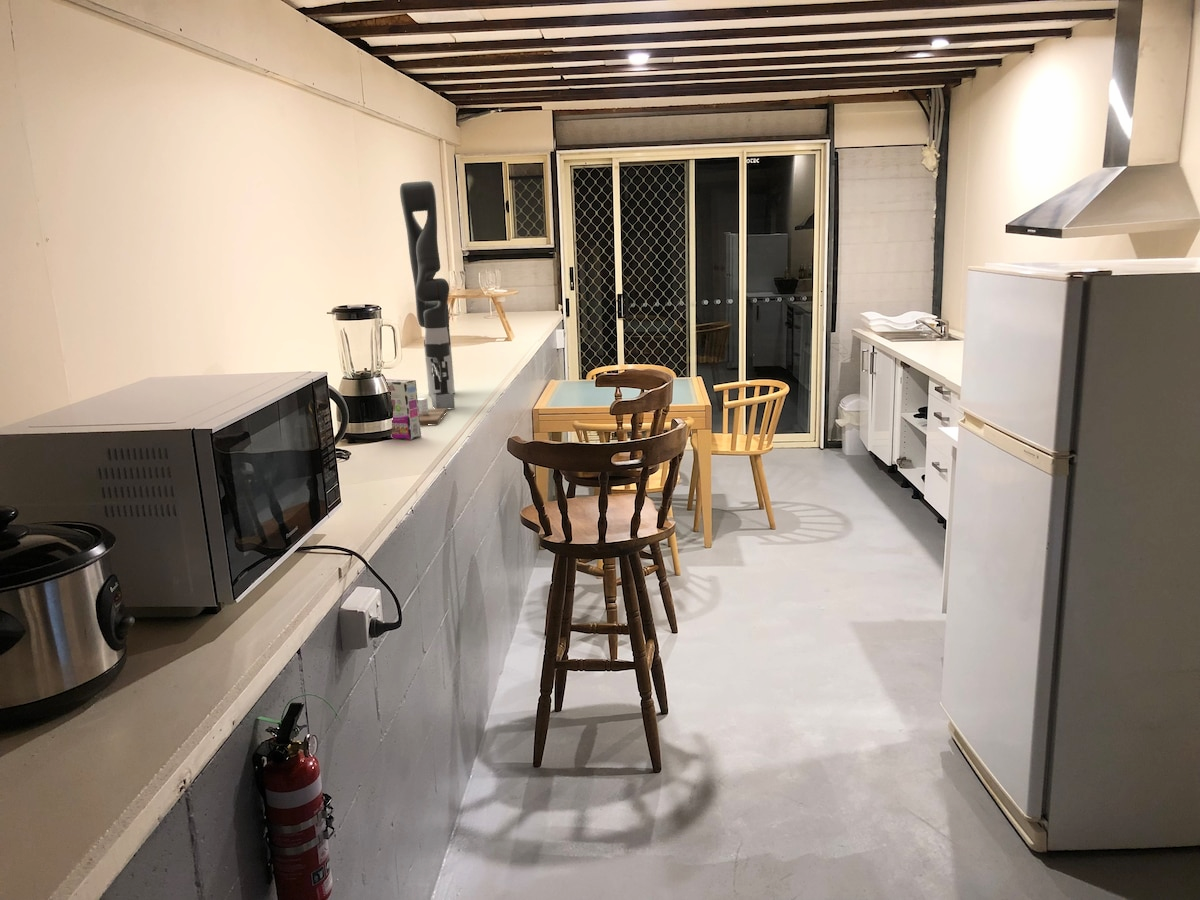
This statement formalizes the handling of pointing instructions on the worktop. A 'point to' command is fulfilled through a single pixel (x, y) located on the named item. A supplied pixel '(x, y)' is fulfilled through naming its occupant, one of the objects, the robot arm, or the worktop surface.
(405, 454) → the worktop surface
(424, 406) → the square post
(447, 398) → the hollow metal block
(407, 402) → the candy bar box
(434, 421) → the walnut base
